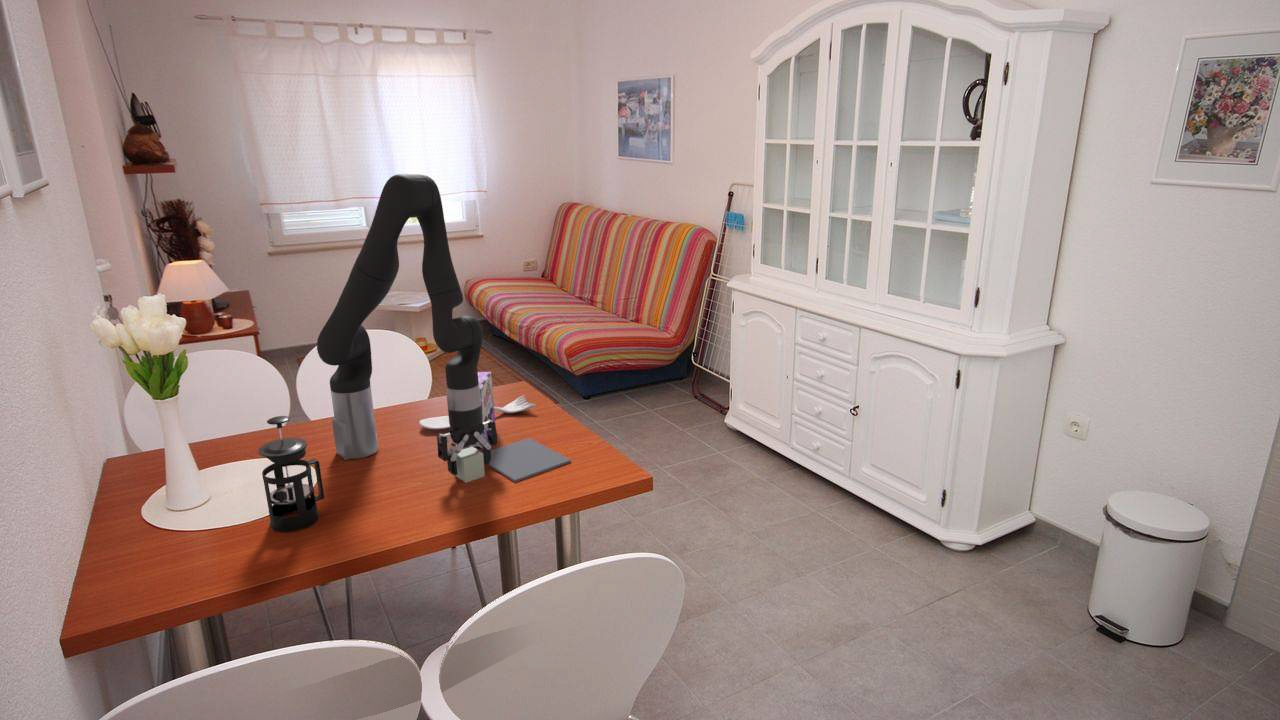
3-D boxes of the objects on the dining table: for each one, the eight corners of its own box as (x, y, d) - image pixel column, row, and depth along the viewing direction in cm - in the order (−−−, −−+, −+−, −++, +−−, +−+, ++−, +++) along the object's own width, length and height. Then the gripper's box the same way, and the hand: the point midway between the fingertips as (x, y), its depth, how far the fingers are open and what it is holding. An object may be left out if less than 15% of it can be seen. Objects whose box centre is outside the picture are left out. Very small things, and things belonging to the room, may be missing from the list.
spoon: (537, 414, 211) (536, 402, 210) (425, 437, 195) (424, 425, 194) (525, 404, 218) (524, 393, 217) (416, 426, 203) (415, 414, 202)
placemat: (514, 482, 170) (514, 479, 170) (475, 457, 183) (475, 455, 183) (570, 462, 180) (570, 459, 180) (529, 440, 193) (529, 437, 193)
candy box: (485, 449, 188) (480, 388, 183) (462, 449, 188) (456, 388, 183) (496, 428, 201) (492, 370, 196) (474, 427, 201) (470, 370, 196)
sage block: (465, 483, 170) (463, 459, 168) (455, 475, 173) (453, 452, 172) (484, 476, 173) (483, 453, 171) (474, 469, 177) (472, 446, 175)
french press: (279, 539, 147) (260, 432, 140) (258, 523, 153) (240, 420, 146) (335, 516, 155) (320, 414, 148) (314, 502, 161) (299, 404, 154)
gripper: (483, 392, 175) (488, 455, 180) (427, 407, 166) (434, 472, 171) (500, 400, 170) (504, 464, 175) (443, 416, 161) (450, 483, 165)
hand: (470, 468), depth 173 cm, fingers open, 8 cm apart
